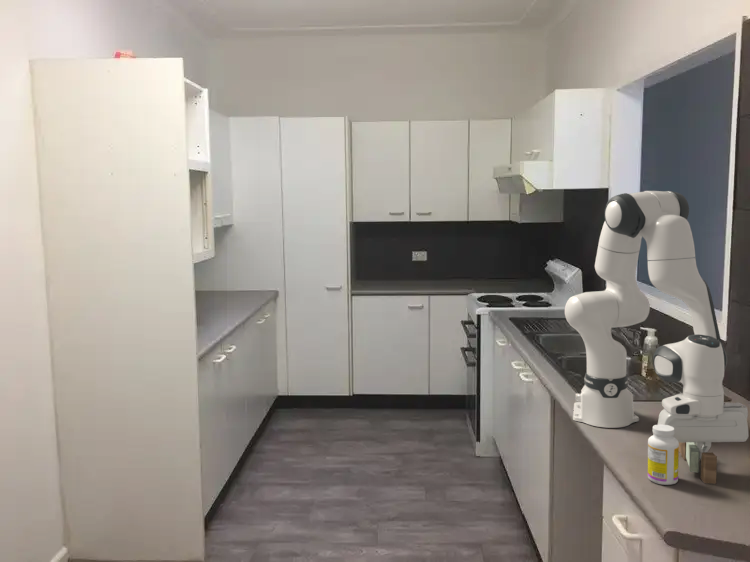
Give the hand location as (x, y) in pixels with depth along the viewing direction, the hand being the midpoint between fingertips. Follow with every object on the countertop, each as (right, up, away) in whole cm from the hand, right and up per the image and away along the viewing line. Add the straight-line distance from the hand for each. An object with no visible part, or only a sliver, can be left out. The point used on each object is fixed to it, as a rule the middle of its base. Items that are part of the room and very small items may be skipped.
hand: (701, 458), depth 161 cm
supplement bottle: (-11, -4, -4) cm, 13 cm away
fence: (0, -2, +7) cm, 8 cm away
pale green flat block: (-2, -2, +1) cm, 3 cm away
